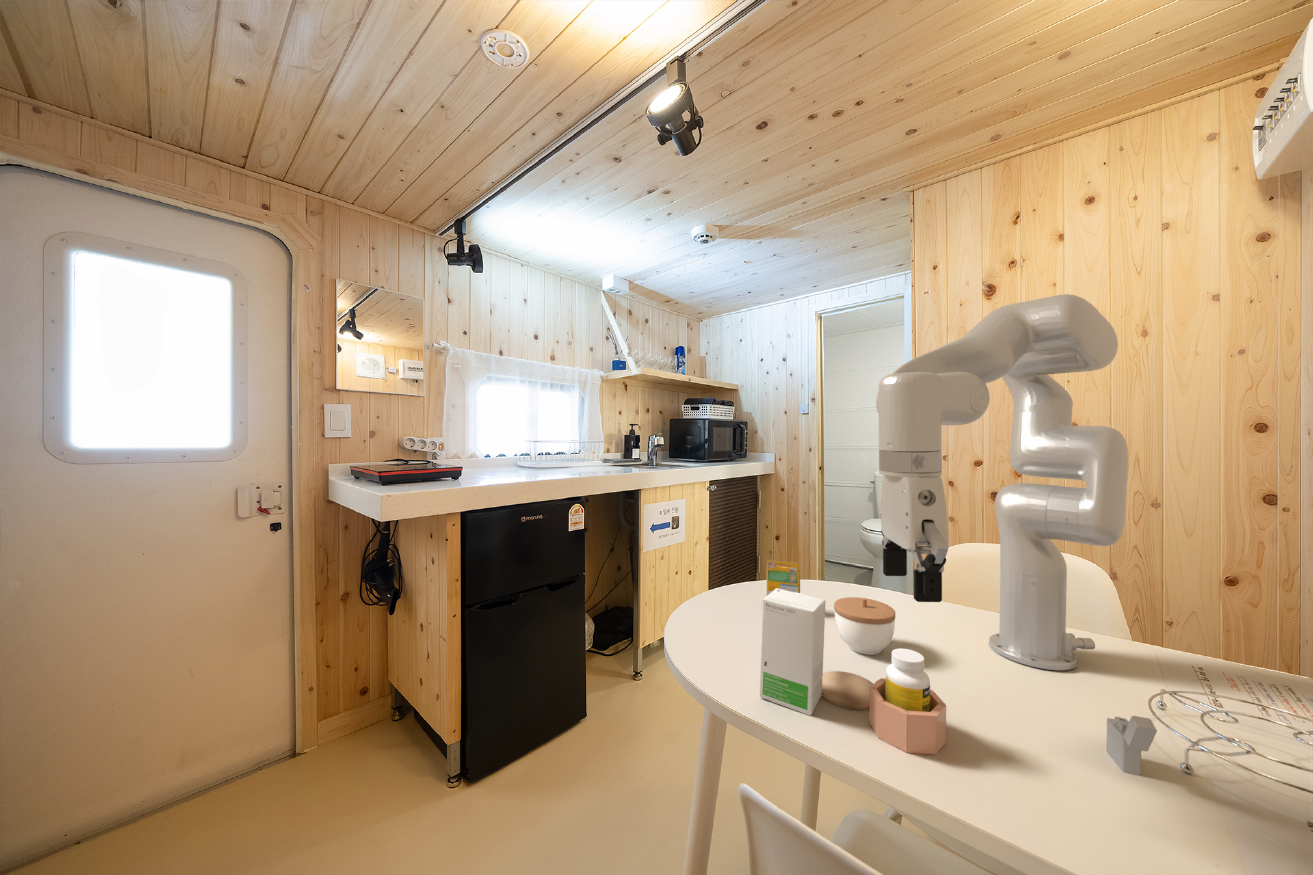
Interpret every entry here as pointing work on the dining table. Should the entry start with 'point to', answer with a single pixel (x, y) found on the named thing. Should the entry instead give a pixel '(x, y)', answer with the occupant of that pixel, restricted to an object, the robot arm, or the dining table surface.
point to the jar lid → (846, 690)
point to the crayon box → (783, 576)
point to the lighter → (1129, 741)
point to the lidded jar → (864, 624)
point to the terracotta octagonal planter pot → (907, 722)
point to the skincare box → (792, 650)
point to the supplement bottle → (908, 681)
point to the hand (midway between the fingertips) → (910, 587)
